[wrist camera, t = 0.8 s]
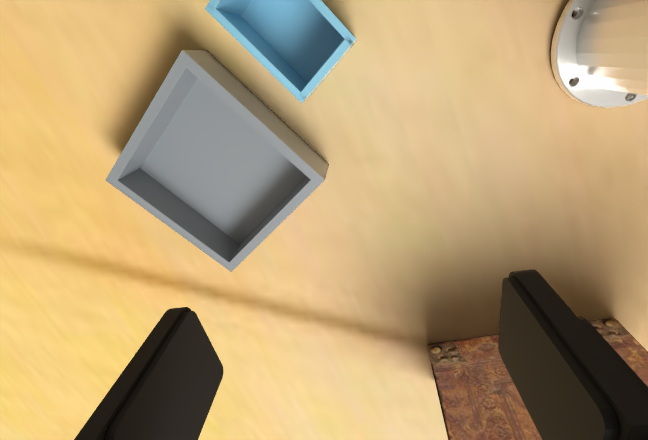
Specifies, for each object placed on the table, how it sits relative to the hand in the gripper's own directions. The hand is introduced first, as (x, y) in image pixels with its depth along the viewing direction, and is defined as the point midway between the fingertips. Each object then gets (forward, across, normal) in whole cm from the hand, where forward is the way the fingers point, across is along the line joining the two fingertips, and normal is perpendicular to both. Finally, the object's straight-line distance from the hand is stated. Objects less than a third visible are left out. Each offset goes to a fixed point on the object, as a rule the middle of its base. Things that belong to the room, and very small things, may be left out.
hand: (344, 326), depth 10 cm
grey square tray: (+28, +15, +1) cm, 32 cm away
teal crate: (+28, +3, -10) cm, 30 cm away
